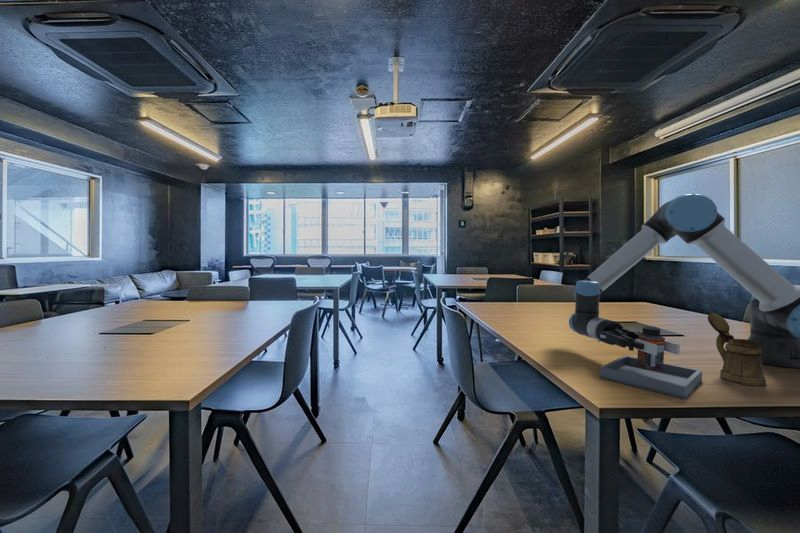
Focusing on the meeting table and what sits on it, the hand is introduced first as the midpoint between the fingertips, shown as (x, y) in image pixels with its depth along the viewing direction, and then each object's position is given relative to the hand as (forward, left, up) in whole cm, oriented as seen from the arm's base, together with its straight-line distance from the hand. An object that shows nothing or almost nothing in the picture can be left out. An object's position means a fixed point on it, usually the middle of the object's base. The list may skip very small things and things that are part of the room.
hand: (666, 349), depth 93 cm
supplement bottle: (+4, -3, -7) cm, 8 cm away
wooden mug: (-10, -23, -10) cm, 27 cm away
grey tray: (+4, -3, -10) cm, 11 cm away
